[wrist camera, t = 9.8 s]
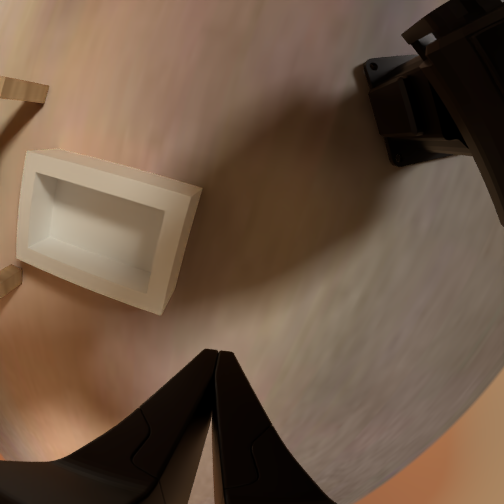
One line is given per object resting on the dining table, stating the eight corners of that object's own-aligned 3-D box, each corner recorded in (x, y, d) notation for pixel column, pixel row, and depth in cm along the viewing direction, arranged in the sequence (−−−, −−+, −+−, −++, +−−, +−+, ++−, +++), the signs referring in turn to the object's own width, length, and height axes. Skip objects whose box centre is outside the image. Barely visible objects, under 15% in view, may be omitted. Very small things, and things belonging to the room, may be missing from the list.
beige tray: (203, 187, 17) (191, 196, 14) (175, 288, 19) (160, 315, 16) (59, 148, 16) (26, 150, 13) (45, 241, 18) (16, 258, 15)
